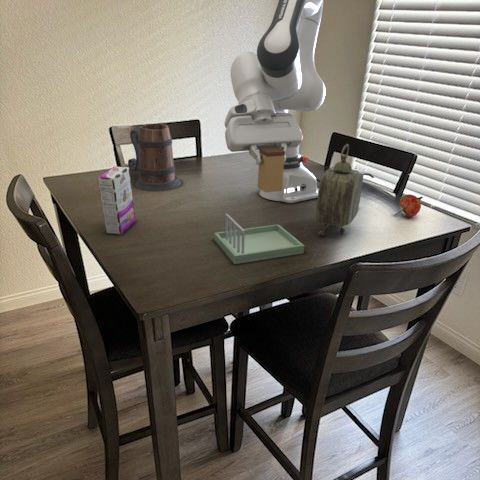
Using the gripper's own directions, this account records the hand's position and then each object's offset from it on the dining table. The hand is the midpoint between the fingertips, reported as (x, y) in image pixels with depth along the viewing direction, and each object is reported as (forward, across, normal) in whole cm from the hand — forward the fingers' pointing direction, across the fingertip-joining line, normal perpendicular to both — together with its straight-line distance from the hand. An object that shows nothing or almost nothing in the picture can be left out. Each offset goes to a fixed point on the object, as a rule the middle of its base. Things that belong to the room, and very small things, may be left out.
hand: (271, 162), depth 121 cm
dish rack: (+16, +3, -16) cm, 23 cm away
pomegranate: (+12, -52, -20) cm, 57 cm away
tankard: (-31, +17, -63) cm, 72 cm away
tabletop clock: (+15, -23, -17) cm, 32 cm away
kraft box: (+5, 0, -5) cm, 7 cm away
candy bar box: (-2, +36, -34) cm, 50 cm away
